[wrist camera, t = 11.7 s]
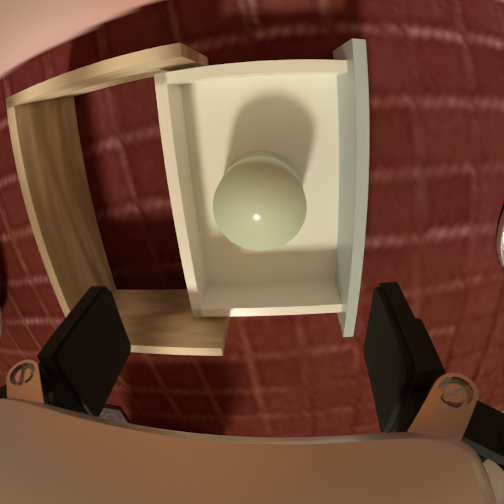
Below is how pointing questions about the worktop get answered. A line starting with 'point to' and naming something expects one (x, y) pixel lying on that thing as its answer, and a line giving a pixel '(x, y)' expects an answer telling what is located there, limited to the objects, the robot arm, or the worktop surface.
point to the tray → (291, 148)
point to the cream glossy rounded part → (260, 201)
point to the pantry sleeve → (81, 207)
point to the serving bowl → (0, 322)
